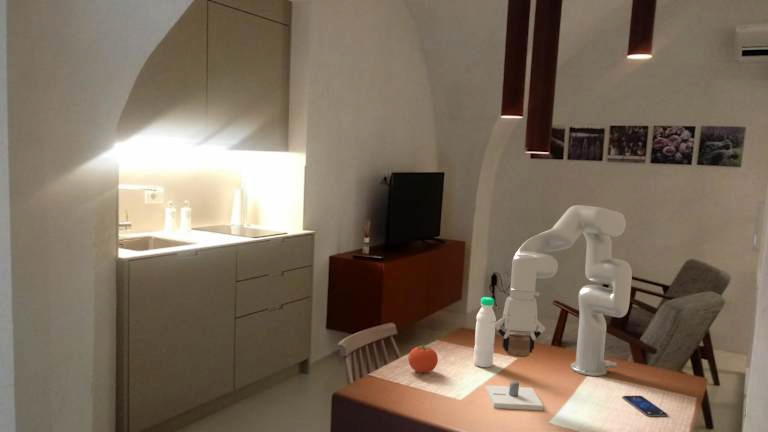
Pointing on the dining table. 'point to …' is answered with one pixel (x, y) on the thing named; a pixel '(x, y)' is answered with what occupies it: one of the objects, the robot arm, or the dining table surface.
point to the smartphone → (645, 406)
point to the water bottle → (484, 334)
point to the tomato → (423, 359)
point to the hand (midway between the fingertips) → (517, 350)
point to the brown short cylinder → (518, 344)
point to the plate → (513, 397)
